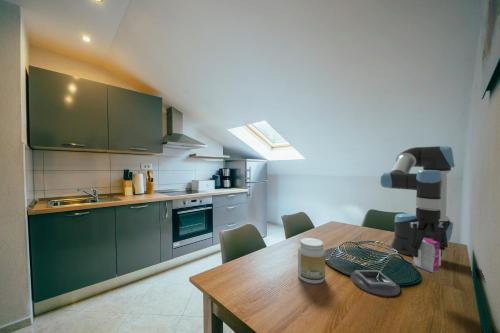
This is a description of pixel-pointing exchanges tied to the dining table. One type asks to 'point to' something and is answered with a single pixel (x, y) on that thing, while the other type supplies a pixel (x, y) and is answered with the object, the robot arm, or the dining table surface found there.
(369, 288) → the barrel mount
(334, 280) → the dining table surface
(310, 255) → the supplement tub
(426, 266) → the supplement box
